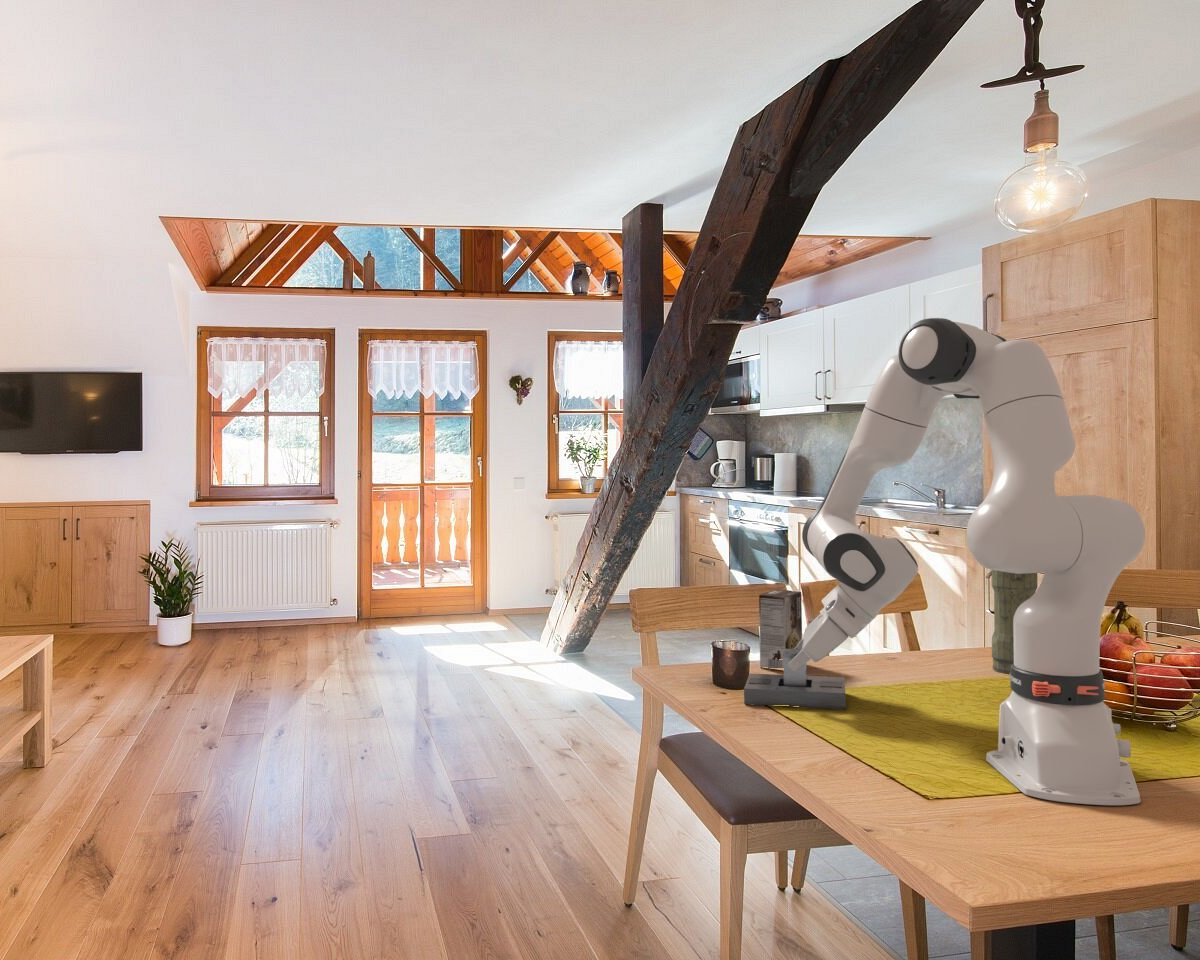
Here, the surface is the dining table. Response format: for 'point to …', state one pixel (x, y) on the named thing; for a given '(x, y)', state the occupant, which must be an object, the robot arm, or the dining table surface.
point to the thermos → (1008, 613)
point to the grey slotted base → (796, 692)
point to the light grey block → (790, 676)
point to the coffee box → (779, 625)
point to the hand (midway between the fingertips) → (791, 662)
